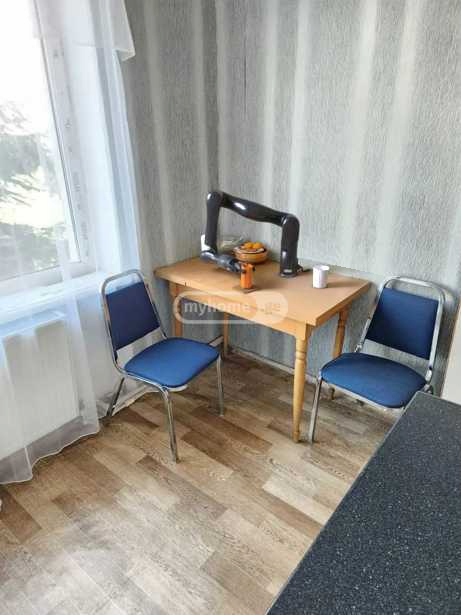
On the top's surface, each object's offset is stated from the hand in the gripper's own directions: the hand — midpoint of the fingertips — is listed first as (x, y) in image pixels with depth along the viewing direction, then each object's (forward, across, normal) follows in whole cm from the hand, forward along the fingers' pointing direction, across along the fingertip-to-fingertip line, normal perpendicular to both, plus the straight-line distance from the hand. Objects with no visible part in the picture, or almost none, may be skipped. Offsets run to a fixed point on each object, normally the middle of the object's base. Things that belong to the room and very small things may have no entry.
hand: (250, 270), depth 197 cm
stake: (-32, +16, +10) cm, 37 cm away
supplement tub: (-55, +17, +11) cm, 58 cm away
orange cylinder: (-2, 0, +9) cm, 9 cm away
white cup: (+21, +31, +10) cm, 38 cm away
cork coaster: (-2, 0, +10) cm, 10 cm away
